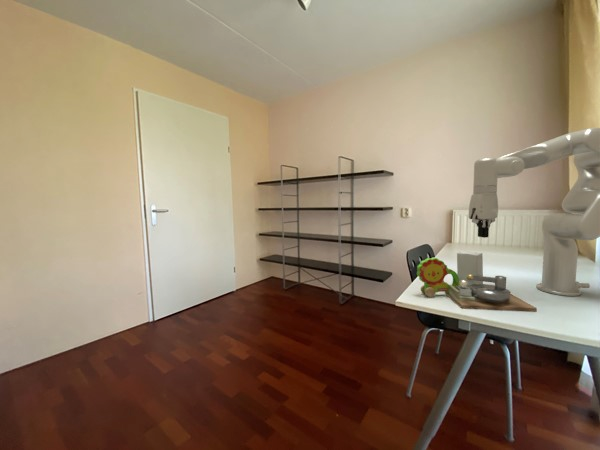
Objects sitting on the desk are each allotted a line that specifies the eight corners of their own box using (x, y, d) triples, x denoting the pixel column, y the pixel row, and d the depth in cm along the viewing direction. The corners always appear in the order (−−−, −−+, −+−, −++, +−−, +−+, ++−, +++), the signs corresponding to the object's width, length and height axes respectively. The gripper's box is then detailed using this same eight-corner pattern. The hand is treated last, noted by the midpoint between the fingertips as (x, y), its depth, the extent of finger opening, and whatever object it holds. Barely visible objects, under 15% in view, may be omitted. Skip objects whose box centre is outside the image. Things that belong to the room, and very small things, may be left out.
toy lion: (453, 293, 103) (454, 256, 103) (461, 297, 98) (462, 259, 97) (414, 293, 104) (415, 256, 103) (420, 297, 99) (420, 258, 98)
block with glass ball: (466, 294, 97) (466, 278, 96) (471, 298, 93) (472, 281, 92) (454, 294, 98) (455, 278, 97) (459, 298, 94) (460, 281, 93)
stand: (507, 295, 99) (508, 283, 99) (536, 311, 85) (537, 298, 84) (444, 293, 103) (445, 282, 103) (461, 308, 89) (462, 295, 88)
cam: (487, 290, 100) (488, 271, 100) (519, 303, 87) (520, 281, 87) (459, 292, 99) (460, 273, 98) (488, 305, 86) (488, 283, 85)
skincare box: (483, 286, 110) (484, 253, 109) (476, 289, 107) (478, 254, 105) (462, 281, 117) (463, 250, 116) (455, 284, 114) (456, 251, 112)
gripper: (489, 191, 104) (488, 234, 106) (461, 191, 100) (459, 237, 102) (509, 190, 97) (506, 237, 99) (479, 190, 93) (477, 239, 95)
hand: (482, 236), depth 100 cm, fingers closed
